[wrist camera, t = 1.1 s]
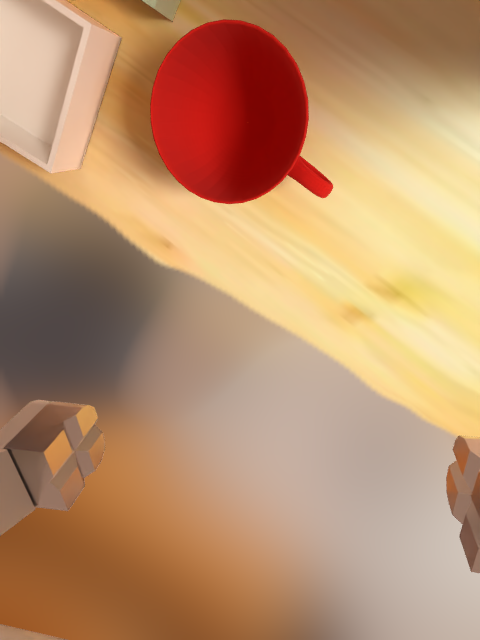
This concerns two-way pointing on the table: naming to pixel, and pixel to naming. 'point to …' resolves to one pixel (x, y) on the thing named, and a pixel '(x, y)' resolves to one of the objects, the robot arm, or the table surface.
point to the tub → (52, 80)
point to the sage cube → (164, 7)
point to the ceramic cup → (232, 114)
